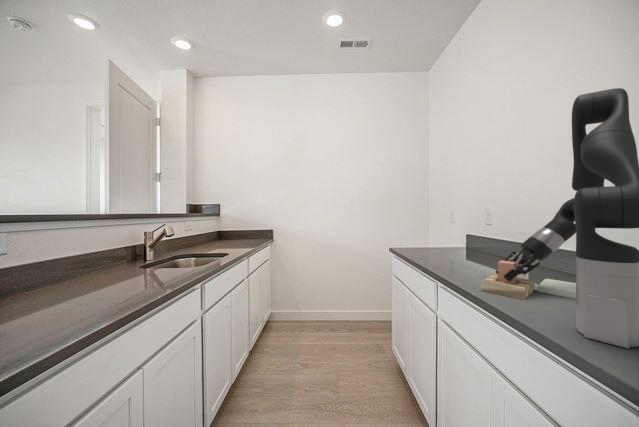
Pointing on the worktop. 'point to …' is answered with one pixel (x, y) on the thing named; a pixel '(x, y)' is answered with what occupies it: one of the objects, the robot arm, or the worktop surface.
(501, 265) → the terracotta block
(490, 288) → the birch holder
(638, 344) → the robot arm
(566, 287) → the sage tile platform
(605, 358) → the worktop surface
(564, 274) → the worktop surface
